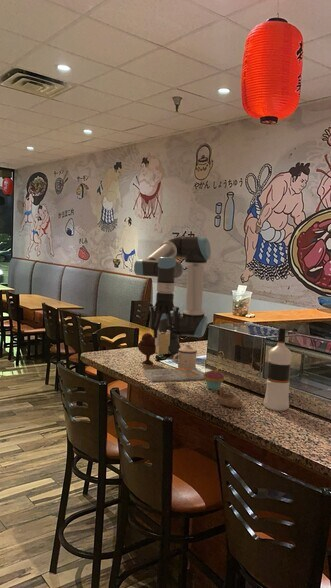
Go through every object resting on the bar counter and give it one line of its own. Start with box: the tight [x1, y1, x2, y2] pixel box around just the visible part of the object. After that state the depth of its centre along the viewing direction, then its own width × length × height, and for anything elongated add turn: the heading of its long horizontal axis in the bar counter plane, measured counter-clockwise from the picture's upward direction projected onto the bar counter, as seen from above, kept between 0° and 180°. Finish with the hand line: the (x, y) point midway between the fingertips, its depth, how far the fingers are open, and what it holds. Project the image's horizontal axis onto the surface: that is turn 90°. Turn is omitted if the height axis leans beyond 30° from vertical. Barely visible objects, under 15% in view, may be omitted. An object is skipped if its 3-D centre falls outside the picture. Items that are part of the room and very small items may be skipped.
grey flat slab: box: [142, 367, 205, 382], centre depth 208 cm, size 12×25×2 cm, turn 110°
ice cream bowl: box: [137, 332, 157, 366], centre depth 230 cm, size 11×11×15 cm
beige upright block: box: [155, 332, 169, 355], centre depth 205 cm, size 4×4×9 cm
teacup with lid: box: [172, 343, 198, 369], centre depth 225 cm, size 12×9×12 cm
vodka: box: [263, 327, 293, 412], centre depth 172 cm, size 9×9×30 cm
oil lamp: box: [216, 387, 243, 409], centre depth 173 cm, size 13×8×5 cm, turn 29°
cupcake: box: [203, 359, 225, 390], centre depth 194 cm, size 9×8×12 cm
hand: (162, 344), depth 205 cm, fingers closed on beige upright block, 4 cm apart
